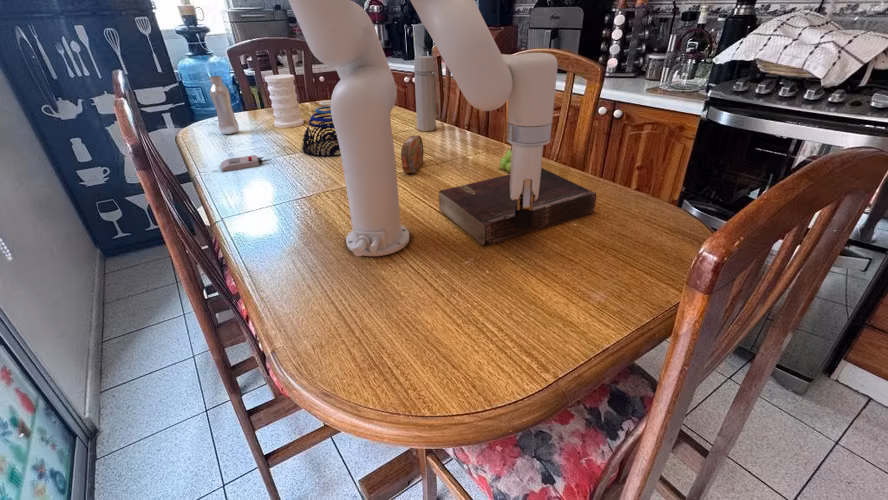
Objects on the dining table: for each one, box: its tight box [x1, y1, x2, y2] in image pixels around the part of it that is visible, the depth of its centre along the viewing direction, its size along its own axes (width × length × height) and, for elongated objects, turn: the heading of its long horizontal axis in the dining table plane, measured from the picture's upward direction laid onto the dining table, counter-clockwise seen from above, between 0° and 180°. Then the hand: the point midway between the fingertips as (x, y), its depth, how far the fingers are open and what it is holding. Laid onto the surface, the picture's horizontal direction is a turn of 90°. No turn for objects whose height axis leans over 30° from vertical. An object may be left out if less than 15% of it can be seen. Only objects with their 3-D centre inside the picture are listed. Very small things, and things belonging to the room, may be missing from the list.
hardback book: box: [438, 167, 597, 247], centre depth 93 cm, size 29×19×5 cm, turn 119°
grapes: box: [499, 144, 512, 173], centre depth 117 cm, size 9×6×7 cm, turn 174°
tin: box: [400, 134, 424, 174], centre depth 118 cm, size 15×3×8 cm, turn 168°
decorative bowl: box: [301, 100, 341, 158], centre depth 136 cm, size 20×20×14 cm
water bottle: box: [413, 55, 441, 132], centre depth 150 cm, size 9×8×25 cm
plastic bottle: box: [208, 75, 240, 135], centre depth 153 cm, size 6×7×20 cm
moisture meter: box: [220, 154, 272, 173], centre depth 125 cm, size 7×16×3 cm, turn 117°
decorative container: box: [264, 73, 305, 129], centre depth 164 cm, size 12×12×18 cm
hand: (522, 226), depth 81 cm, fingers closed
